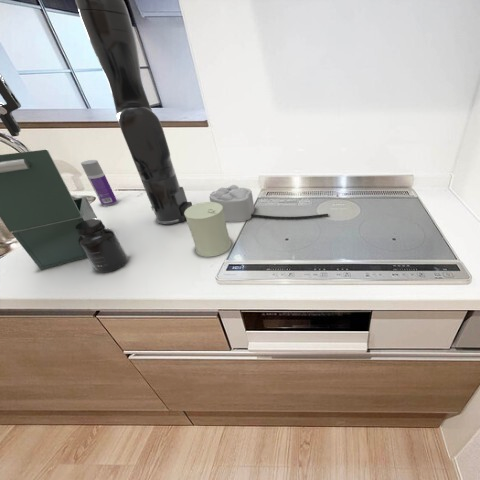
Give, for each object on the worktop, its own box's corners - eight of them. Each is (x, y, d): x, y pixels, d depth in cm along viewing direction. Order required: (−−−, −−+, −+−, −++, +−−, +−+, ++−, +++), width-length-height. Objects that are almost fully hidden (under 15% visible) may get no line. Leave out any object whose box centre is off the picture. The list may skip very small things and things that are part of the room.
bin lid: (-37, 159, 52) (-51, 160, 48) (47, 149, 57) (40, 149, 53) (10, 231, 58) (1, 237, 54) (81, 215, 64) (78, 220, 60)
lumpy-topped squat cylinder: (249, 221, 84) (244, 196, 79) (208, 221, 84) (202, 196, 79) (256, 206, 92) (252, 183, 87) (219, 206, 92) (214, 183, 88)
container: (120, 200, 96) (101, 159, 88) (110, 206, 92) (89, 164, 84) (108, 200, 96) (88, 159, 88) (98, 205, 93) (76, 164, 84)
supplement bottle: (108, 255, 69) (85, 215, 62) (134, 256, 69) (113, 216, 62) (88, 273, 63) (61, 231, 56) (116, 273, 63) (92, 231, 56)
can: (216, 260, 67) (205, 219, 61) (188, 252, 70) (174, 213, 63) (237, 241, 75) (229, 203, 68) (211, 235, 77) (201, 197, 70)
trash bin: (49, 242, 74) (25, 208, 68) (103, 228, 80) (85, 196, 74) (40, 270, 64) (11, 233, 58) (103, 252, 70) (82, 217, 64)
